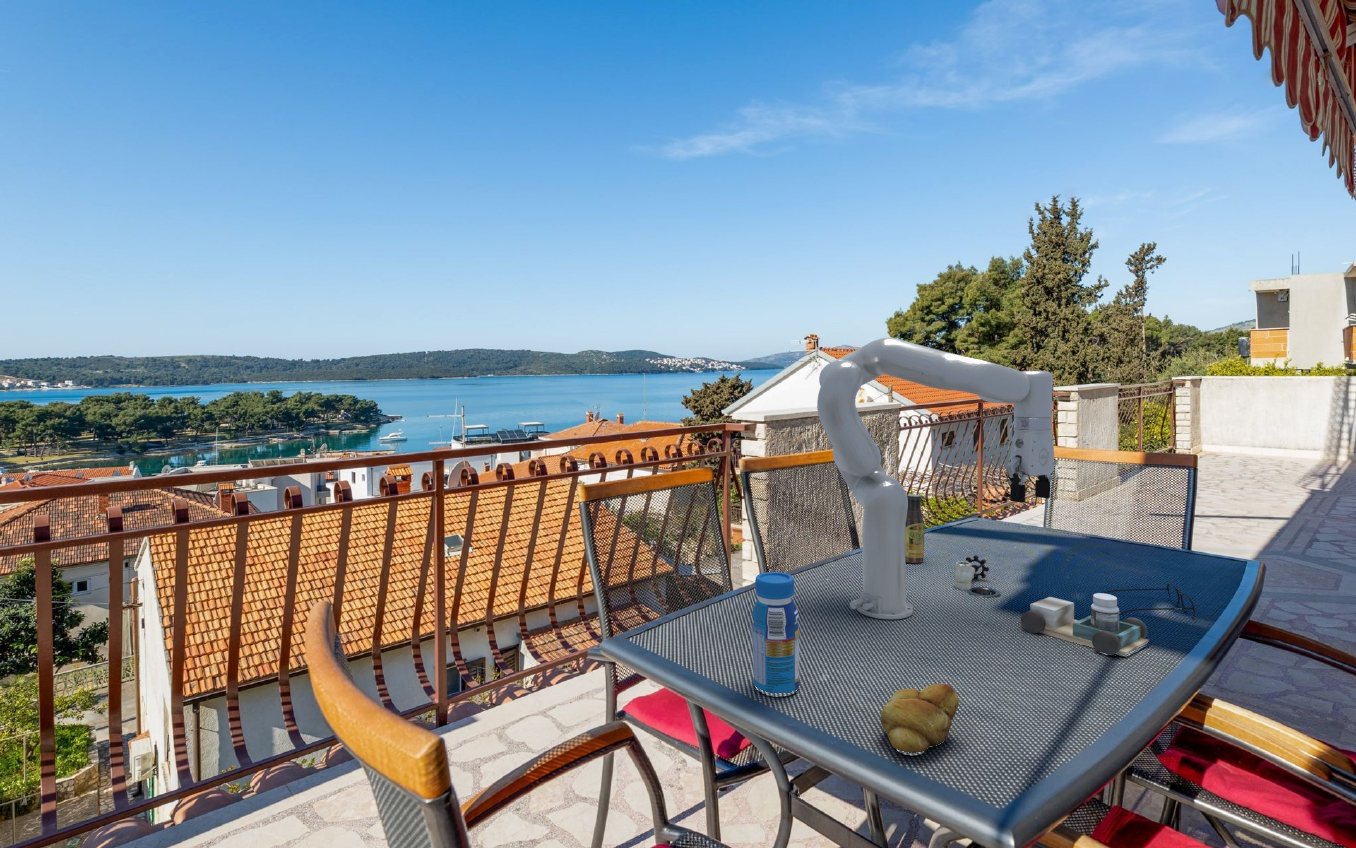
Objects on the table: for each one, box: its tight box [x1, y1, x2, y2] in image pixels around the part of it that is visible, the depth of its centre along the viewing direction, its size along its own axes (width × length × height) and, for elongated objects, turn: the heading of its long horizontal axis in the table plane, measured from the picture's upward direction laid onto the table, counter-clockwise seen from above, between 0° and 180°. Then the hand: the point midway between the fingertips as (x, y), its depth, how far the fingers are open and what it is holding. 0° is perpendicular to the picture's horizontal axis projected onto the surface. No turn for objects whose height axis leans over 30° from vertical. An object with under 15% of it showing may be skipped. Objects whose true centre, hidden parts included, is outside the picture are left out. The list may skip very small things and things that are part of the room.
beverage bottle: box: [750, 571, 801, 693], centre depth 113 cm, size 8×8×20 cm
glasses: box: [1103, 583, 1196, 617], centre depth 149 cm, size 14×15×5 cm
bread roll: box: [880, 683, 960, 753], centre depth 96 cm, size 13×10×8 cm
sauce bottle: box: [905, 493, 926, 564], centre depth 190 cm, size 6×6×20 cm
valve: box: [954, 554, 990, 591], centre depth 168 cm, size 7×7×12 cm
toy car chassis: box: [1020, 596, 1150, 656], centre depth 133 cm, size 13×20×5 cm, turn 33°
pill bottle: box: [1090, 592, 1120, 634], centre depth 129 cm, size 5×5×8 cm
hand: (1030, 499), depth 147 cm, fingers open, 9 cm apart
